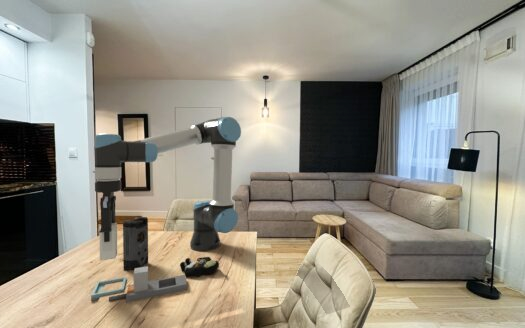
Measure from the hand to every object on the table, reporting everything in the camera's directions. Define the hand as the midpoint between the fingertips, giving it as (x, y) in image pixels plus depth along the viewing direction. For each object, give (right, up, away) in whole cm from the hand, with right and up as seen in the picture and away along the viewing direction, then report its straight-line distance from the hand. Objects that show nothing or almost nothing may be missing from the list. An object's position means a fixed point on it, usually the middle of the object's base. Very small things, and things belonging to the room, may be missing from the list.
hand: (108, 247), depth 82 cm
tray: (0, -15, +1) cm, 15 cm away
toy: (+28, -15, +13) cm, 34 cm away
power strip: (+15, -15, -2) cm, 21 cm away
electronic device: (0, -14, +18) cm, 23 cm away
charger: (0, -3, 0) cm, 3 cm away
